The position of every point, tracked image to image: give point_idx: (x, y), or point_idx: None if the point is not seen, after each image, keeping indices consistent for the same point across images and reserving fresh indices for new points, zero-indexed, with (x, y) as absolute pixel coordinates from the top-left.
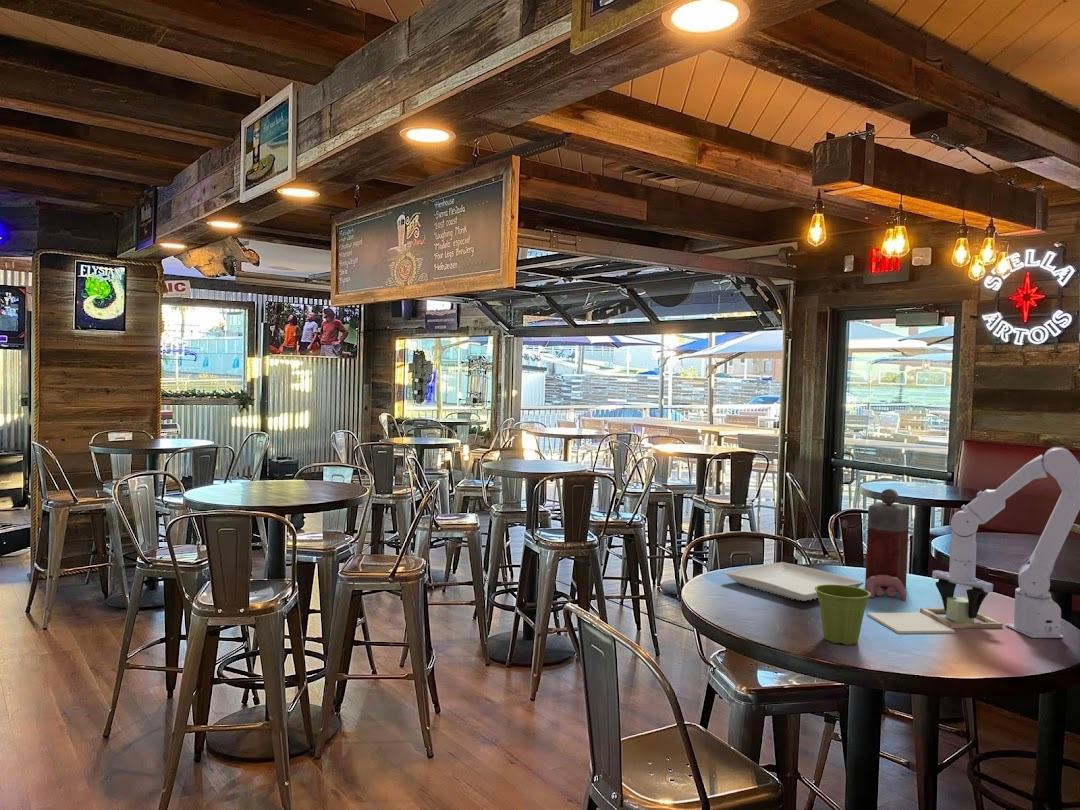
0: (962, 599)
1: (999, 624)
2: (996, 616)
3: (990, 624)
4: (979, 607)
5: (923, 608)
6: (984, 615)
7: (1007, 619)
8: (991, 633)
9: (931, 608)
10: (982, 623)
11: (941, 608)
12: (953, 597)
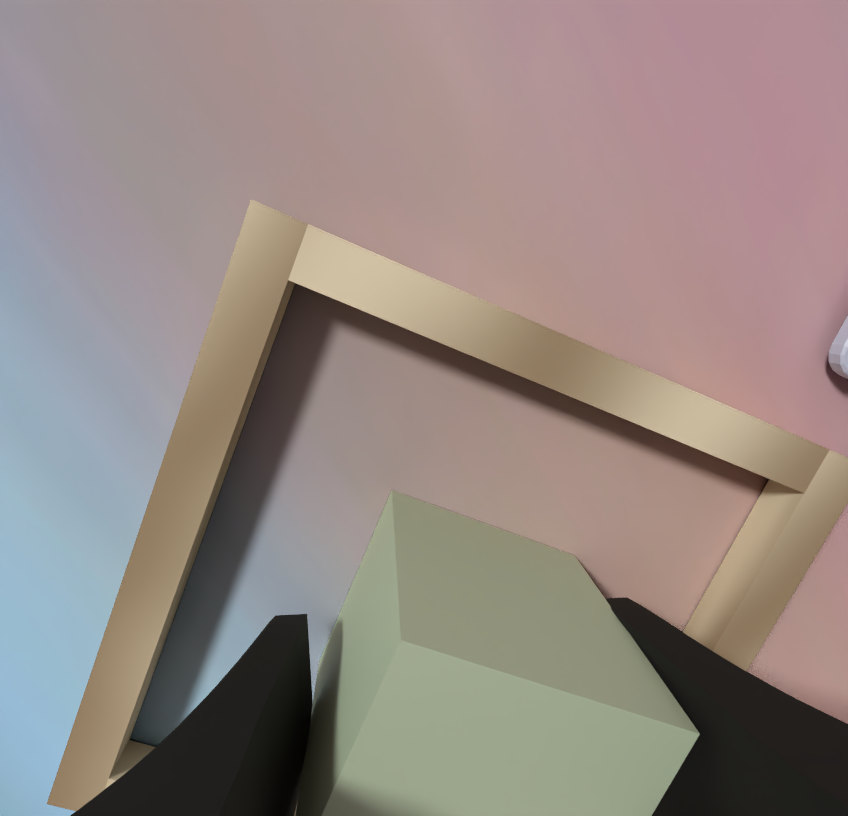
0: (490, 781)
1: (840, 495)
2: (568, 28)
3: (786, 592)
4: (731, 668)
5: (73, 784)
6: (588, 349)
7: (714, 27)
8: (837, 702)
9: (103, 701)
10: (738, 663)
11: (142, 586)
12: (330, 813)
